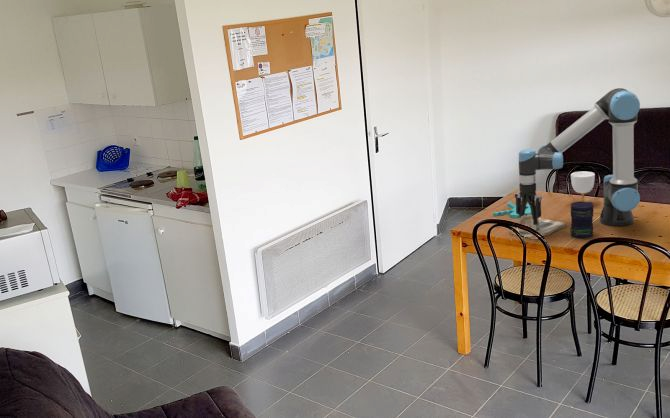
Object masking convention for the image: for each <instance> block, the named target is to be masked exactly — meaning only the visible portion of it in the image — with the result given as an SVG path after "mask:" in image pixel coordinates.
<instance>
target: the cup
mask: <svg viewBox="0 0 670 418" xmlns="http://www.w3.org/2000/svg"><path fill="white" fill-rule="evenodd" d="M595 176H596V174H595V172H592V171H586V170H585V171H574V172H572V173H571V174H570V180H571V187H572V188H573V190H574V192H575V193H578V194H581V202H585V201H584V200H585V198H584V197H585V195H586V194H587V193H590V192H591V191H592V190H593V188H594V185H595V178H596V177H595Z"/></svg>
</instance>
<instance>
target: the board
mask: <svg viewBox="0 0 670 418" xmlns="http://www.w3.org/2000/svg"><path fill="white" fill-rule="evenodd" d="M566 227H567V223H566V222H562V221H556V220H552V219H546V218H541V217H539V229H538V230H536V231H538V232H539V233H541V234H542V235H543V236H544V237H546V236H548V235H550V234H551V233H554V232H556V231H559V230H561V229H563V228H566ZM514 229H516V230H517V231H518V232H519V229H518V227H516V228H514ZM519 233H520V232H519ZM508 234H509V235H512V234H514V235H513V236H516V235H515V233H514V232H513V231H511V230H509V233H508ZM520 234H521V235H522V236H524V237H523V238H525V237H529V238H536V237H535V236H534V235H532V234H530V233H529V234H525V233H520ZM529 238H528V239H529Z"/></svg>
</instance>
